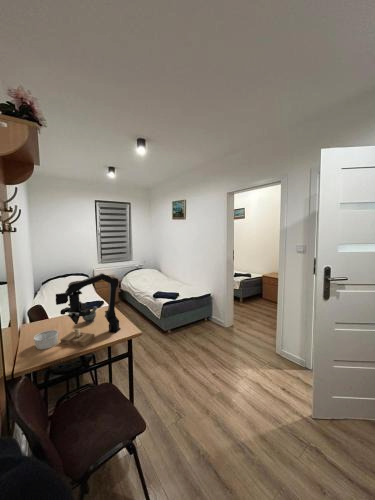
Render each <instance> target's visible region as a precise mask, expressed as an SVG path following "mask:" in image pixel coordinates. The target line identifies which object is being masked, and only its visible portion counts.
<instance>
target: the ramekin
mask: <svg viewBox="0 0 375 500" xmlns="http://www.w3.org/2000/svg"><path fill="white" fill-rule="evenodd" d="M58 340H59V331H58V330H56V329H49V330H45V331H44V330H43V331H42V332H39V333H37V334H35V335H34V337H33V342H34V345H35V348H36V349H38V350H47V349H48V350H49V349H50V348H52V347H54V346H56V345H57V344H58Z"/></svg>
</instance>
